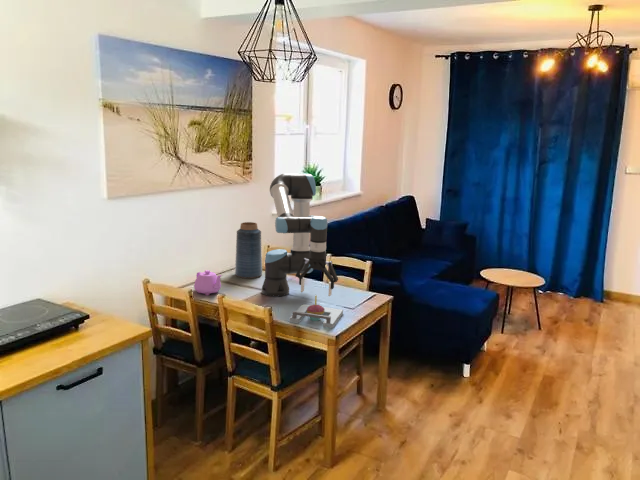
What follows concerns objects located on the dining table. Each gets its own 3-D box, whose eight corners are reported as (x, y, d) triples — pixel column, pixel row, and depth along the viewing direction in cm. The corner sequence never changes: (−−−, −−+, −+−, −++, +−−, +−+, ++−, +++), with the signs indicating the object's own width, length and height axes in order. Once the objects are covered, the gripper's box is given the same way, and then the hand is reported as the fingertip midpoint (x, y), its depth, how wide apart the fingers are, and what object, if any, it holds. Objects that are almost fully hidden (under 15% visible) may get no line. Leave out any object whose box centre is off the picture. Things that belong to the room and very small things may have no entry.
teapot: (231, 293, 282) (231, 271, 279) (211, 300, 271) (211, 277, 268) (206, 285, 294) (206, 264, 291) (186, 291, 282) (185, 270, 280)
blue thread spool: (233, 271, 323) (233, 221, 316) (260, 270, 327) (260, 221, 320) (236, 279, 307) (236, 226, 301) (263, 278, 311) (264, 226, 304)
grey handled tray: (289, 321, 245) (289, 311, 244) (302, 308, 264) (302, 298, 263) (332, 328, 240) (332, 317, 238) (342, 313, 258) (343, 303, 257)
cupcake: (306, 316, 253) (306, 292, 251) (323, 316, 254) (324, 292, 251) (306, 322, 245) (307, 298, 242) (324, 322, 246) (325, 298, 243)
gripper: (289, 248, 242) (288, 292, 247) (342, 255, 235) (339, 299, 240) (295, 245, 249) (293, 287, 254) (345, 251, 242) (343, 294, 247)
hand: (316, 293), depth 247 cm, fingers open, 13 cm apart
